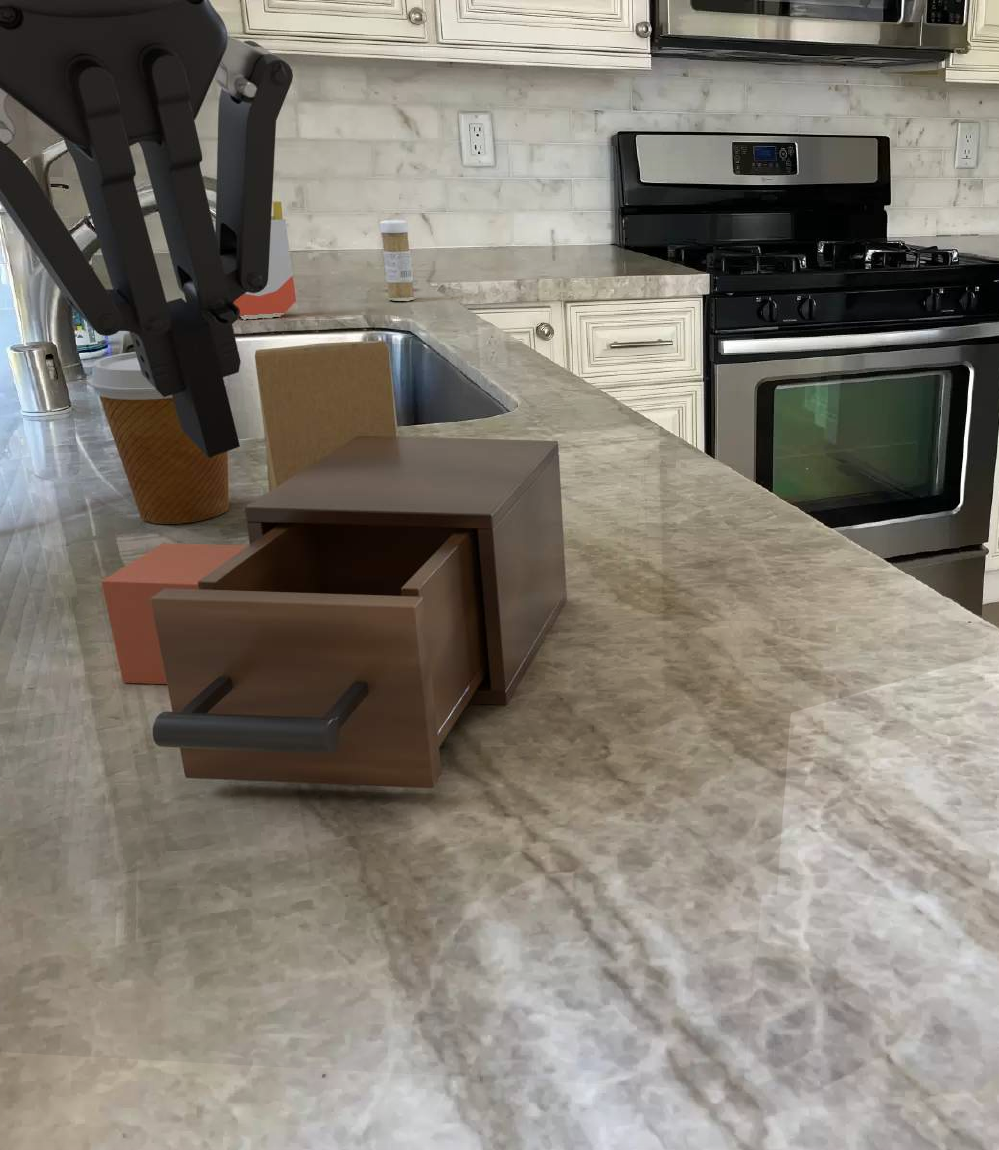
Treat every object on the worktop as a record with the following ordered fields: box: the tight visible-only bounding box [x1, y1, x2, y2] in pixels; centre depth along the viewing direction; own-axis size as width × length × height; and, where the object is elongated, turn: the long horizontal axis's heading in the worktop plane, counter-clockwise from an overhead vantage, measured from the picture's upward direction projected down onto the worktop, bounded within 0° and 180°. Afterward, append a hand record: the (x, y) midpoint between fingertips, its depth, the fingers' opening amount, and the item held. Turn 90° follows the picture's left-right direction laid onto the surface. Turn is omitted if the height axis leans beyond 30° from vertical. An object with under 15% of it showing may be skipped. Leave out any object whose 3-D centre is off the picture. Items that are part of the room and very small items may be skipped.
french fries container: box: [212, 201, 297, 316], centre depth 178 cm, size 5×11×18 cm, turn 123°
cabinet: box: [243, 436, 568, 706], centre depth 66 cm, size 15×13×11 cm
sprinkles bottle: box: [379, 219, 415, 298], centre depth 198 cm, size 5×5×14 cm
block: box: [101, 542, 248, 685], centre depth 64 cm, size 6×6×6 cm
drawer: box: [150, 523, 489, 789], centre depth 54 cm, size 18×11×9 cm, turn 177°
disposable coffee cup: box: [88, 351, 231, 525], centre depth 88 cm, size 10×10×12 cm
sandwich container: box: [254, 340, 399, 492], centre depth 85 cm, size 9×15×15 cm, turn 26°
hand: (210, 437), depth 54 cm, fingers closed
